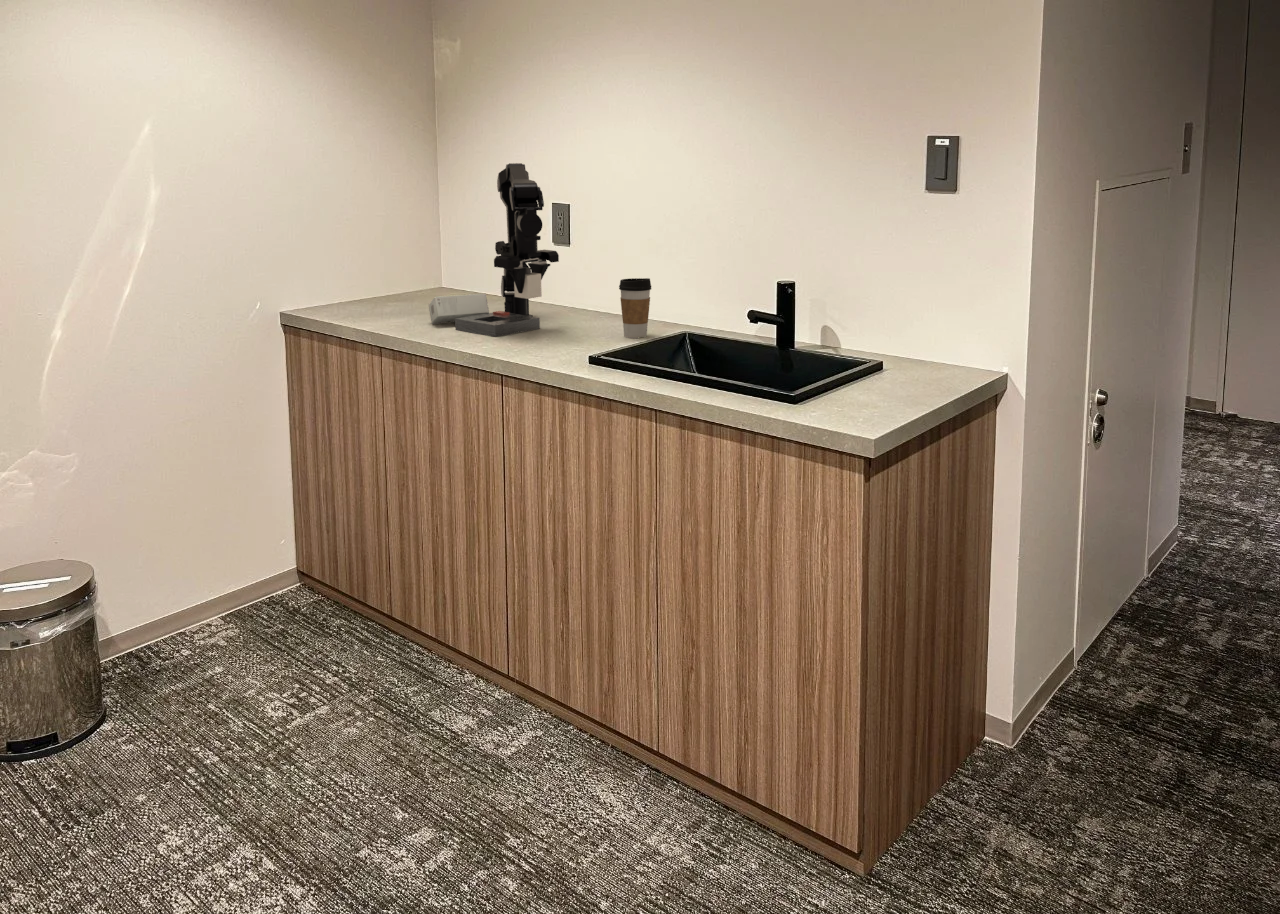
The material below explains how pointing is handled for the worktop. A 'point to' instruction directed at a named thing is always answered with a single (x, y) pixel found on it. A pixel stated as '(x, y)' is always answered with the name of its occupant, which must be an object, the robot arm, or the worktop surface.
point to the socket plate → (497, 323)
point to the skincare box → (457, 307)
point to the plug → (530, 286)
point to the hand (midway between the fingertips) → (527, 291)
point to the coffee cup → (635, 306)
